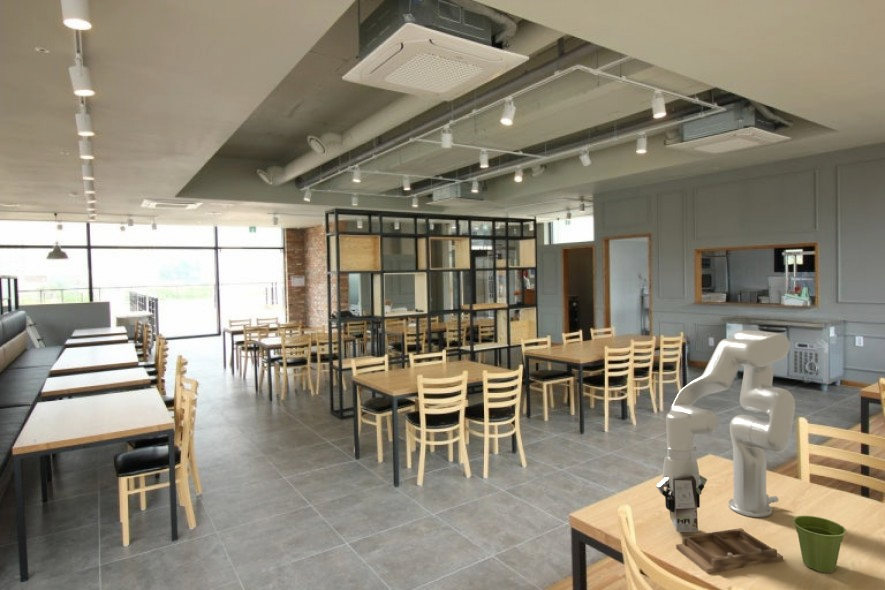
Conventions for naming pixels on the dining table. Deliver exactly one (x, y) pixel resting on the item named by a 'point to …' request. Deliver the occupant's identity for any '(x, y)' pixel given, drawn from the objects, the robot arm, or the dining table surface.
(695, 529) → the coffee box
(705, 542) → the divided wooden tray
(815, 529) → the plant pot
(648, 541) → the dining table surface
